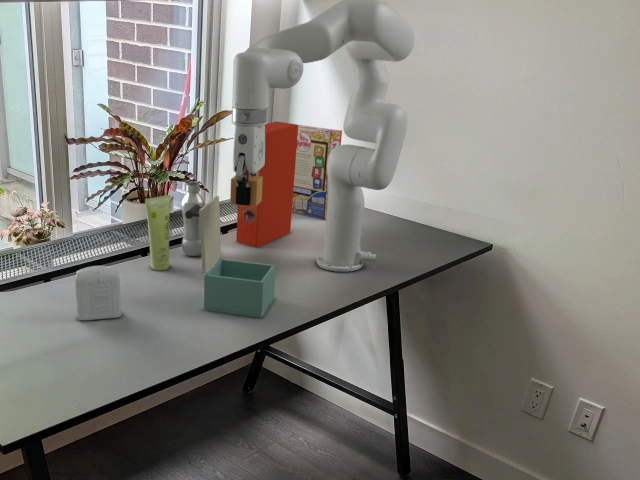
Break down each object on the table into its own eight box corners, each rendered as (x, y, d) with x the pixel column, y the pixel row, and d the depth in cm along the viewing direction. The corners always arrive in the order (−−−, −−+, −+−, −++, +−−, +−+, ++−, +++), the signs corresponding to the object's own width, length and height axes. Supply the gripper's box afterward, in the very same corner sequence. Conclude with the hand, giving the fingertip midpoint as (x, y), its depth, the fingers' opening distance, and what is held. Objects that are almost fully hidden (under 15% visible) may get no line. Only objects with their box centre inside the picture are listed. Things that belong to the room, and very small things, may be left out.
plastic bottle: (196, 260, 203) (195, 188, 193) (176, 255, 207) (175, 184, 197) (209, 253, 208) (210, 183, 198) (190, 249, 211) (190, 179, 201)
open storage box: (273, 298, 179) (275, 264, 175) (261, 318, 169) (263, 282, 165) (219, 291, 183) (219, 258, 179) (204, 310, 174) (204, 275, 169)
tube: (164, 272, 195) (163, 200, 185) (147, 270, 197) (144, 198, 187) (171, 265, 200) (170, 194, 190) (154, 263, 201) (152, 192, 192)
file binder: (291, 233, 224) (298, 124, 208) (258, 247, 212) (263, 133, 196) (269, 228, 228) (274, 121, 212) (236, 242, 217) (239, 130, 201)
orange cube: (261, 200, 165) (262, 176, 162) (256, 206, 161) (257, 181, 158) (236, 198, 167) (237, 174, 164) (230, 203, 163) (230, 179, 160)
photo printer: (120, 311, 173) (117, 261, 167) (122, 318, 170) (120, 268, 164) (76, 315, 171) (72, 265, 165) (78, 322, 168) (74, 271, 162)
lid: (218, 196, 172) (197, 195, 173) (202, 209, 162) (179, 209, 164) (221, 256, 179) (200, 255, 180) (205, 273, 169) (183, 272, 171)
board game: (335, 216, 239) (343, 130, 226) (324, 220, 235) (332, 133, 222) (285, 204, 251) (290, 122, 238) (273, 208, 247) (278, 124, 234)
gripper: (256, 124, 147) (252, 213, 155) (276, 111, 161) (271, 193, 169) (220, 121, 149) (218, 210, 158) (243, 109, 163) (240, 190, 172)
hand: (246, 200), depth 163 cm, fingers closed on orange cube, 4 cm apart
